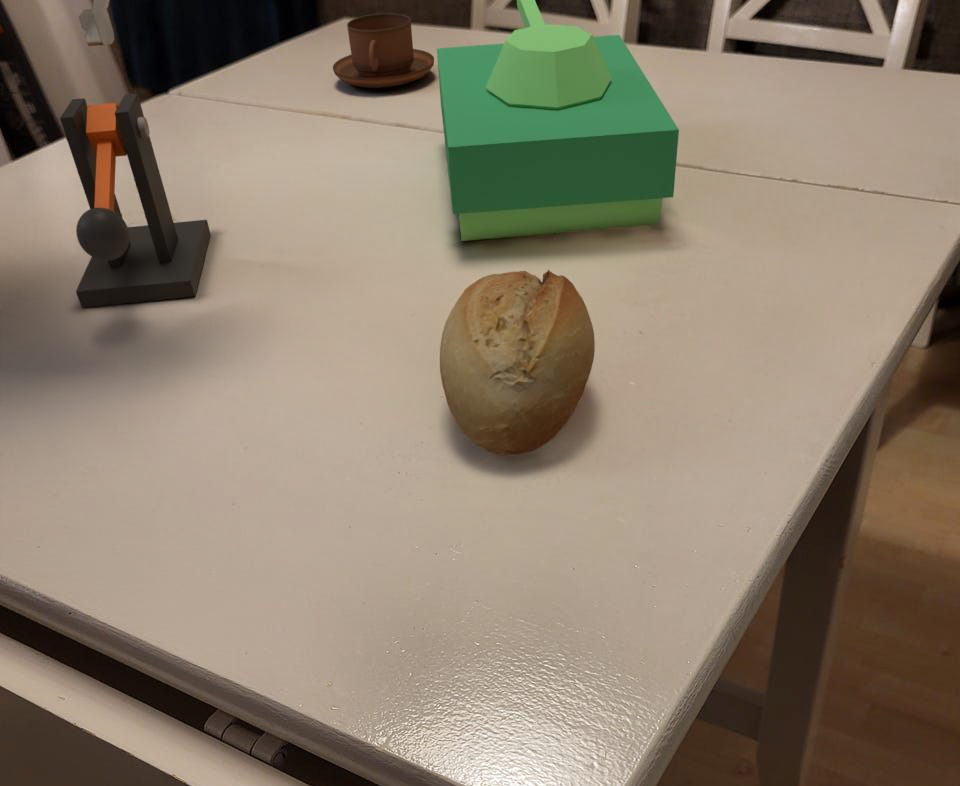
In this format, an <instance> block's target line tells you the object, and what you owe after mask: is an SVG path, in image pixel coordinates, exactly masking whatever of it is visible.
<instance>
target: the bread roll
mask: <svg viewBox="0 0 960 786" xmlns="http://www.w3.org/2000/svg"><path fill="white" fill-rule="evenodd" d="M586 305H587V304H585V301H584V299H583V297H582V296H581V294H580V293H579V291H578V290H577V288H576V286H575V285H574V283H573V282H572V281H571V280H570V279H569V278H567V277H565V275H557V274H555V273H553V272H552V271H550V269H547V270H546V272H544V273H543V274H542V280H541V279H540V278H539V277H538V276H536V275H535V274H531V273H530V272H528V271H526V270H520V271H509V272H508V271H507V272H502V273H493V274H488V275H486V276H482V277H481V278H479V279H477V280H476V281H475V282H473V283H471V284H470V285H469V286H467V287H466V288H465V289H464V290H463V292H462V294H461V295H460V296H459V298H458V299H457V300H456V302H455V304H454V305H453V307H452V309H451V310H450V312H449V315H448V316H447V319H446V320H445V323H444V326H443V330H442V334H441V338H440V346H439V347H440V348H439V373H440V379H441V385H442V388H443V392H444V396H445V399H446V404H447V407H448V409H449V412H450V413H451V415H452V417H453V418H454V421H455V423H456V424H457V426H458V427H459V429H460V430H461V431H462V433H463V434H464V435H465V436H466V437H467V438H468V439H469V440H470V441H471V442H472V443H473V444H474V445H476V446H477V447H478V448H481V449H484V450H485V451H487V452H488V453H491V454H494V455H497V456H507V457H508V456H520V455H523V454H526V453H529V452H532V451H534V450H537V449H539V448H541V447H543V446H545V445H546V444H548V443H549V442H551V441H552V440H554V438H555V437H556V436H557V435H558V434H559V433H560V432H561V431H562V430H563V428H565V426H566V424H567V423H568V422H569V421H570V418H571V417H572V416H573V414H574V412H575V411H576V409H577V407H578V405H579V403H580V401H581V400H582V397H583V395H584V393H585V389H586V386H587V383H588V380H589V378H590V375H591V372H592V369H593V364H594V359H595V351H596V349H595V348H596V347H595V345H596V344H595V342H596V341H595V332H594V326H593V322H592V320H591V316H590V314H589V311H588V307H587V306H586Z"/></svg>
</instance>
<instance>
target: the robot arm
mask: <svg viewBox="0 0 960 786" xmlns="http://www.w3.org/2000/svg"><path fill="white" fill-rule="evenodd" d="M109 4H110V0H93V1H92V6H91V8H88V9H87V8H86V9H83V10H82V11H81V13H80V14H79V15H78V20H79V23H80V27H81V29H82V30H83V31H84V32H85V34H84V40H85V42H86V45H87V46H88V47H97V46H107V45H112V44H113V43H114V41H115V32H114V29H113V26H112V21H111V18H110V15H109V12H108V8H109Z"/></svg>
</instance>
